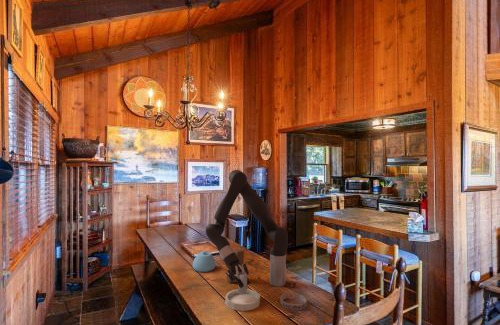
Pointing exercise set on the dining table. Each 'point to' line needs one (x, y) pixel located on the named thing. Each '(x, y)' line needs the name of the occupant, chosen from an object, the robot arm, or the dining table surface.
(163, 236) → the dining table surface
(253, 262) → the dining table surface
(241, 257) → the wooden block
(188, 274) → the dining table surface
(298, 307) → the bracelet
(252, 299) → the round tray
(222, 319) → the dining table surface
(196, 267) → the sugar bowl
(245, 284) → the grey peg
